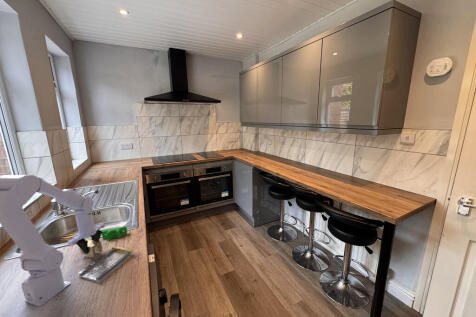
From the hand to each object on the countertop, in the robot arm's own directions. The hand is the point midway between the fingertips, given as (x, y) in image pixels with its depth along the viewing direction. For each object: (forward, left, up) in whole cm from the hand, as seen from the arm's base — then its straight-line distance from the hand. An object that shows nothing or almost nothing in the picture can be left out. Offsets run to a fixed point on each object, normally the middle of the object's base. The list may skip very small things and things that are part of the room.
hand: (91, 249), depth 87 cm
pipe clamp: (+13, +2, -3) cm, 13 cm away
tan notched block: (0, 0, -2) cm, 2 cm away
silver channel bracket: (-3, -13, -3) cm, 14 cm away
